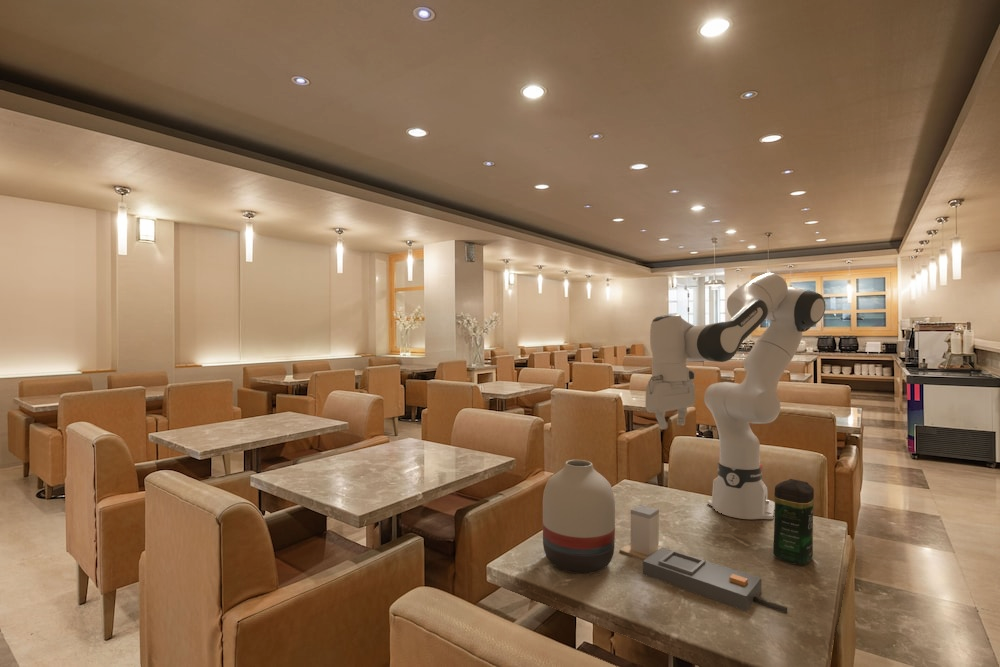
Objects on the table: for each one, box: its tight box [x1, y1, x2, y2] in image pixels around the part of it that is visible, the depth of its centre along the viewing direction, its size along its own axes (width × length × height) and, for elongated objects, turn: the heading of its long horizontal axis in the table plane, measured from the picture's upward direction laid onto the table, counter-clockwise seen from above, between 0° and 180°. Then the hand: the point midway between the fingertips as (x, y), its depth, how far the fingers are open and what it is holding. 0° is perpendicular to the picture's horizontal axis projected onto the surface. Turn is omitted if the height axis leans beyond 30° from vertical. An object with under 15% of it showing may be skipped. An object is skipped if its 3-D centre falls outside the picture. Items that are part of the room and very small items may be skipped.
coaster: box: [619, 542, 669, 561], centre depth 126 cm, size 9×9×1 cm
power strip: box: [642, 546, 789, 613], centre depth 108 cm, size 10×28×4 cm, turn 47°
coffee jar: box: [772, 478, 815, 566], centre depth 123 cm, size 10×8×19 cm
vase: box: [542, 459, 616, 575], centre depth 120 cm, size 17×17×24 cm
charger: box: [630, 504, 660, 556], centre depth 126 cm, size 5×5×10 cm
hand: (672, 427), depth 134 cm, fingers open, 8 cm apart
